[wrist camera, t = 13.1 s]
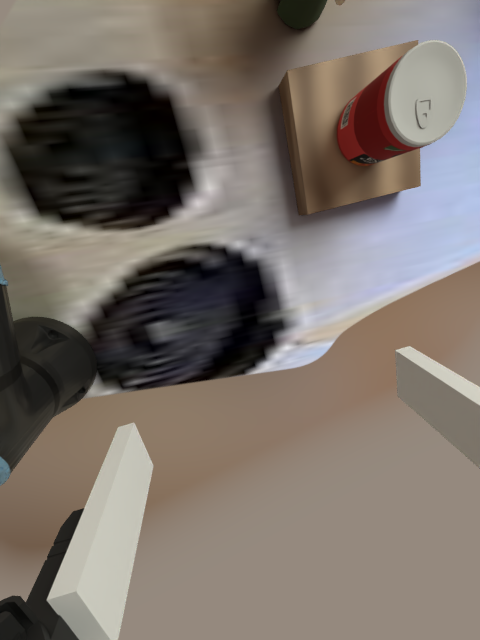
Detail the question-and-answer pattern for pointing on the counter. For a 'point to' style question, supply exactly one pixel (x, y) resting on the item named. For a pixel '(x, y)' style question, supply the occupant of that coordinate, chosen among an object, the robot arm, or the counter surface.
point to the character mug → (302, 11)
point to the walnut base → (321, 133)
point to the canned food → (404, 105)
